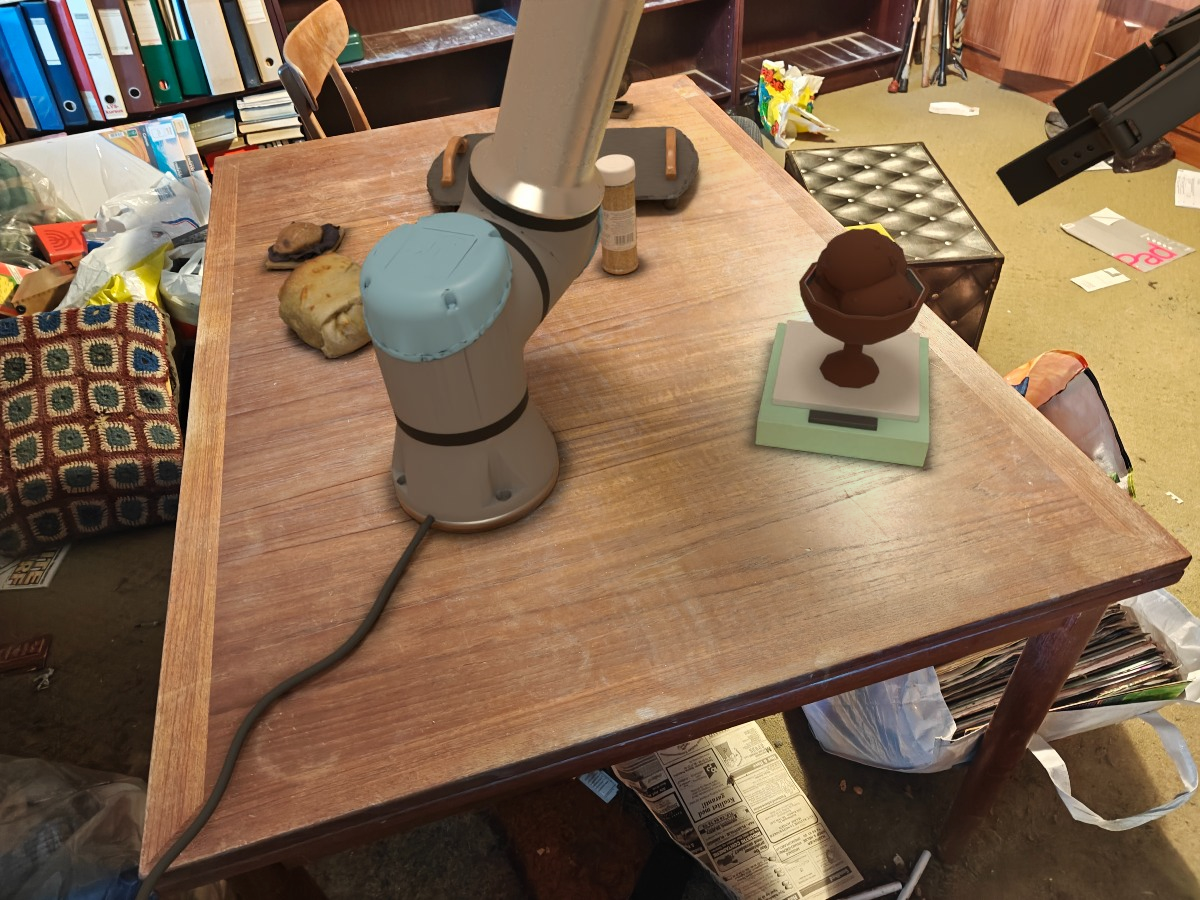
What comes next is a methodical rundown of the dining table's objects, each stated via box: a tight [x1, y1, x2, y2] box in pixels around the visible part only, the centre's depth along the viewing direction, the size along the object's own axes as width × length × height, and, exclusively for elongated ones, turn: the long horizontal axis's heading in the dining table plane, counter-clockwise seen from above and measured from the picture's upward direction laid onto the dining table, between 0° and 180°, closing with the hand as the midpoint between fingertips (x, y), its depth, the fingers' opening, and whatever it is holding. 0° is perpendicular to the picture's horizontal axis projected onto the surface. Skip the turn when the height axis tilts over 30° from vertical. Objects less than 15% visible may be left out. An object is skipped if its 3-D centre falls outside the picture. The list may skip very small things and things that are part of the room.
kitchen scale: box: [754, 319, 931, 468], centre depth 83 cm, size 16×15×4 cm
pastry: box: [277, 251, 372, 359], centre depth 97 cm, size 14×12×8 cm
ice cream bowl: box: [798, 227, 931, 388], centre depth 76 cm, size 11×11×15 cm
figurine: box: [610, 57, 655, 119], centre depth 138 cm, size 14×4×9 cm, turn 74°
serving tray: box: [426, 125, 700, 213], centre depth 121 cm, size 39×23×6 cm, turn 87°
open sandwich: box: [264, 221, 346, 270], centre depth 112 cm, size 11×8×4 cm
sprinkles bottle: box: [595, 155, 639, 275], centre depth 101 cm, size 5×5×13 cm
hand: (1036, 149), depth 60 cm, fingers open, 13 cm apart
